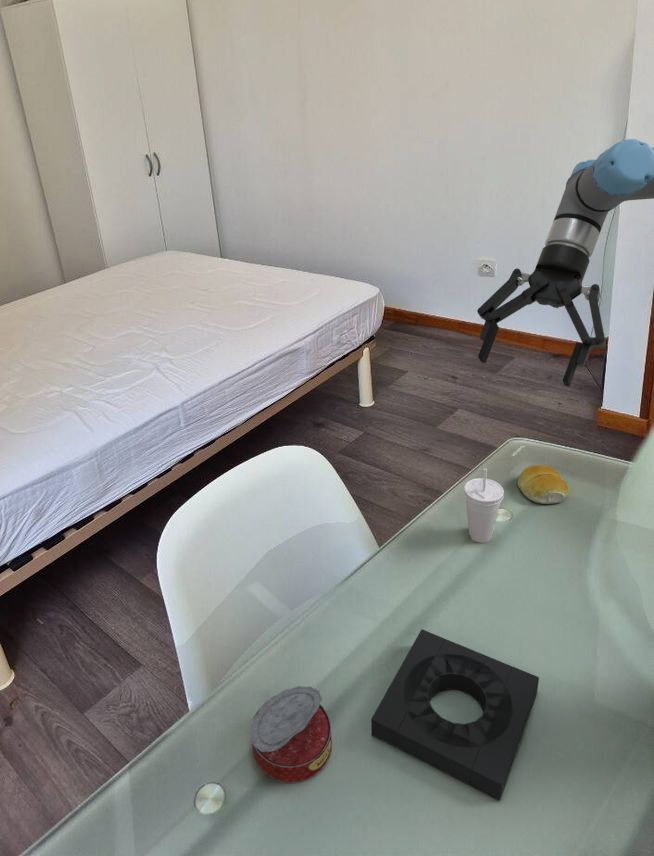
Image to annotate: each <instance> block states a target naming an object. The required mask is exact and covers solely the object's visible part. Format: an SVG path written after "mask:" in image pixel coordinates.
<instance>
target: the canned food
mask: <svg viewBox="0 0 654 856" xmlns="http://www.w3.org/2000/svg"><path fill="white" fill-rule="evenodd" d="M322 700H323V699H322V696H321V693H320V691H319V690H318V689H316V688H313V687H312V686H301V685H300V686H295V687H293V688H289V689H288V688H287V689H285V690H282V691H281V692H279V693H278V694H276V695H274V696H272V697H270V698H269V699H268V700H267V701H264V703H263V704H262V705H261V706H259V708H258V709H257V711H256V713H254V715H253V718H252V721H251V726H250V732H249V736H250V739H251V744H252V752H253V751H254V753H253V757H254V756H255V757H254V760H255V762H256V764H257V766H258V768H260V770H261V771H262V772H263V773H264V774H265V775H267V776H268V777H269V778H271V779H273V780H275V781H277V782H280V783H284V784H285V783H286V784H287V783H288V784H297V783H302V782H305V781H308V780H310V779H312V778H313V777H315V776H316V775H318V774H319V773H320V772H321V771H322V770H323V768H324V767H326V765H327V763H328V761H329V759H330V757H331V754H332V750H333V749H332V747H333V746H332V745H333V740H332V726H331V720H330V717H329V714H328V712H327V711H326V709H325V708H324V706H322V704H321V703H322Z"/></svg>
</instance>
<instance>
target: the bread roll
mask: <svg viewBox="0 0 654 856" xmlns="http://www.w3.org/2000/svg"><path fill="white" fill-rule="evenodd" d="M517 486H518V488H519V490H520V491H521V493H522V494H523V495H524V497H526V498H527V499H528V500H529V501H532V502H534V503H538V504H543V505H544V504H545V505H546V504H547V505H550V504H557V503H562V502H563V501H564V500H565V499H566V497H567V496H568V494H569V493H570V491H569V485H568V483H567V482H566V481H564V479H563V478H562V475H561V474H560V473H559V472H558V471H557V470H556V469H555V468H553V467H551V466H548V465H545V464H533V465H530V466H527V467H526V468H524V469H523V470H522V471H521V473H520V474H519V477H518V479H517Z"/></svg>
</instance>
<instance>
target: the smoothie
mask: <svg viewBox="0 0 654 856" xmlns="http://www.w3.org/2000/svg"><path fill="white" fill-rule="evenodd" d="M487 477H488V468H483V473H482V477H478V478H477V477H476V478H472V479H470V480H468V481H466V483H465V484H464V486H463V491H462V492H463V496H464V497H465V502H466V503H465V504H466V514H467V525H468V534H469V535H470V536H469V538H470V537H471V538H470V539H471V540H472V541H473V542H476V543H480V544H484V543H488V542H490V541H491V540H492V539H493V534H494V529H495V527H496V523H497V517H498V514H499V510H500V506H501V503H502V501H503V500H504V497H505V495H504V493H505V492H504V487H503V486H502V485H501V484H500V483H498V482H497V481H495V480H493V479H490V478H487Z"/></svg>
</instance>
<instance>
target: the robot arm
mask: <svg viewBox="0 0 654 856" xmlns="http://www.w3.org/2000/svg"><path fill="white" fill-rule="evenodd" d="M651 199H652V200H653V199H654V147H652V146H651V145H649V144H648V143H647V142H643V141H641V140H639V139H635V138H628V139H627V138H626V139H622V140H620V141H618V142H615V143H614V144H613V145H612V146H610V147H609V148H608V149H605V150H604V151H603V152H602V153H600V154H599V155H598V156H597V158H596V159H587V160H585V161H580V162H578V163H577V164H576V165H574V167H573V169H572V171H571V174H570V176H569V177H568V179H567V180H566V183H565V189H564V191H563V194H562V197H561V200H560V202H559V205H558V207H557V210H556V213H555V216H554V218H553V220H552V223H551V226H550V228H549V231H548V234H547V237H546V239H545V242H544V246H543V248H542V249H541V251H540V255H539V257H538V259H537V263H536V265H535V269H534V270H533V271H532V272H531V274H528V273H526V272H523V271H521V269H520V268H515V269H513V270H512V271H511V272H512V273H511V274H510V277H509V278H508V279H507V281H506V282H504V284H502V285H501V286H500V287H499V288H498V289H497V290H496V291H495V292H494V293H493V294H492V295H491V296H490V297H489V298H488V299H487V300H486V301H485V302H484V303H482V305H480V307H478V308H477V310H476V312H477V314H478V315H479V318H480V319H481V320H484V324H483V327H482V328H481V329H482V330H481V332H480V334H479V339H480V340H481V341H482V345H481V348H480V350H479V353H478V355H477V358H478V360H479V361H480V363H483V364H487V361H488V359H489V355H490V353H491V350H492V347H493V345H494V342H495V340H496V337H497V334H498V333H499V330H500V327H499V325H498V323H500V322H502V321H504V320H505V319H506V318H508V317H510V316H512V315H513V314H515V313H516V312H518V311H521V309H523V308H525V307H526V306H530V305H532V304H534V303H535V302H536V303H538V304H539V305H541V306H549V307H552V308H555V309H559V308H562V307H564V308H565V310H566V312H567V314H568V316H569V318H570V320H571V323H572V324H573V327H574V329H575V331H576V333H577V334H578V337H579V338H580V341H581V342H578V341H576V342H575V345H574V348H573V350H572V354H571V356H570V358H569V361H568V363H567V366H566V370H565V372H564V376H563V378H562V383H563V385H564V386H566V387H571V384H572V381H573V379H574V376H575V372H576V370H577V368H578V367H579V368H584V367H585V366H586V363H587V360H588V359H589V355H590V353H591V350H592V349H596V348H599V349H604V348H606V346H607V343H606V335H605V332H604V327H603V322H602V316H601V311H600V305H599V301H600V297H601V288H600V285H599V284H597V283H594V284H592V285H591V286H590V285H583V282H584V278H585V275H586V273H587V271H588V270H587V269H588V267H589V264H590V261H591V260H590V259H591V257H592V256H593V253H594V251H595V248H596V245H597V243H598V239H599V237H600V234H601V231H602V229H603V226H604V223H605V221H606V218H607V216H608V214H609V212H611V211H612V210H613V209H615V208H616V207H618V206H619V205H620V204H622V203H624V202H627V201H639V200H651ZM525 283H528V285H529V287H527V288H526V289H524V290H523V291H522V292H521V293H520V294H519V295H517V296H516V297H514V298H512V299H511V300H508V301H507V299H509V297H511V295H513V294H514V292H515V291H517V290H518V288H519V287H521V286H523V285H525ZM582 294H583V295H584V298H585V300H586V301H588V303H589V304H588V305H589V309H590V314H591V320H592V325H593V330H594V335H595V336H594V337H591V336H590V334H589V332H588V330H587V328H586V327H585V324H584V322H583V321H582V318H581V316H580V314H579V311H578V310H577V308H576V306H575V303H574V301H573V300H575V299H576V298H578V297H579V296H580V295H582ZM505 301H507V302H505ZM504 302H505V303H504Z"/></svg>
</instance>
